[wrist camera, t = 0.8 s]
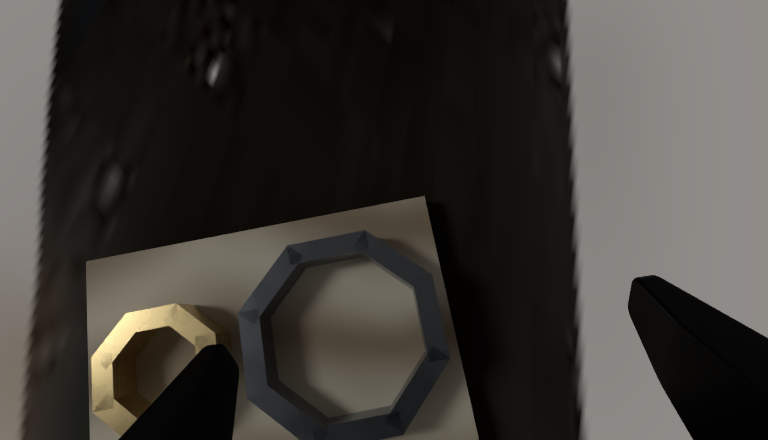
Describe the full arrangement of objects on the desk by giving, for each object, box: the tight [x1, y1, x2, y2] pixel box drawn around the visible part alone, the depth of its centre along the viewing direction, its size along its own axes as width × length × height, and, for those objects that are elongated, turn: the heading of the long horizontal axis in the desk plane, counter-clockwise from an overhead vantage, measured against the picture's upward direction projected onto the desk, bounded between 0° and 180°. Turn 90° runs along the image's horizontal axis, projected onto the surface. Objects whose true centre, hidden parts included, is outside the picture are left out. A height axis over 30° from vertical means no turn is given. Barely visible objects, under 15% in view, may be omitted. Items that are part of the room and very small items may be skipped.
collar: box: [238, 230, 450, 440], centre depth 21 cm, size 10×10×2 cm
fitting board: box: [86, 196, 479, 440], centre depth 23 cm, size 13×19×1 cm
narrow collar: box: [91, 303, 233, 436], centre depth 21 cm, size 6×6×2 cm
